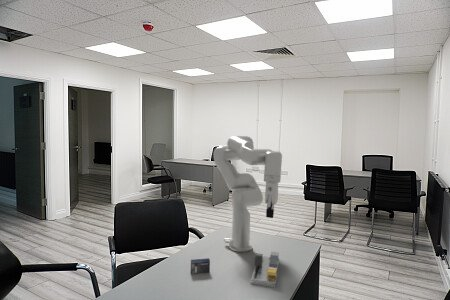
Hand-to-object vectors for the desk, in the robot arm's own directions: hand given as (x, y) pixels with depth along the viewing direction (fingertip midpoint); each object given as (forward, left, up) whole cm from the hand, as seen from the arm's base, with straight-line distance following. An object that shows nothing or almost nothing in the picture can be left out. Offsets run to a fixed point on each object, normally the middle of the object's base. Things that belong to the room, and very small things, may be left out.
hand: (269, 217), depth 139 cm
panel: (0, -7, -23) cm, 24 cm away
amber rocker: (+3, -13, -20) cm, 24 cm away
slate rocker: (+3, 0, -20) cm, 20 cm away
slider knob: (-4, -6, -21) cm, 22 cm away
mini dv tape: (-28, -16, -23) cm, 40 cm away
